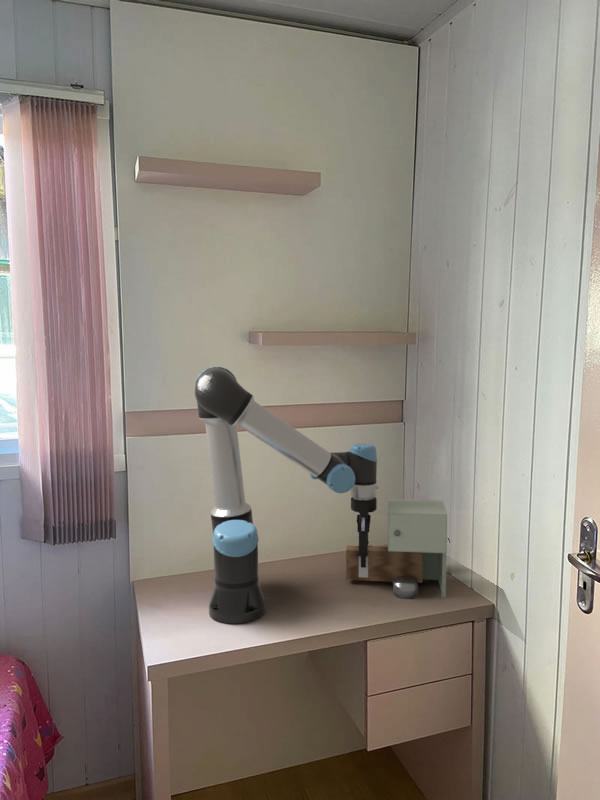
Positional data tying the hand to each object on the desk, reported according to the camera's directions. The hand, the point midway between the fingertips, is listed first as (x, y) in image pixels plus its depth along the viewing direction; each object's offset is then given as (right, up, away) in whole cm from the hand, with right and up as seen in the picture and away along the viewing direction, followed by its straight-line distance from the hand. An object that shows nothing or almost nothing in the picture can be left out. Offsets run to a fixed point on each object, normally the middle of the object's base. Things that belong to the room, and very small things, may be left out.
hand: (363, 573), depth 191 cm
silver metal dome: (+11, -4, -8) cm, 14 cm away
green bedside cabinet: (+15, -3, -4) cm, 15 cm away
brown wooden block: (+6, -1, -1) cm, 6 cm away
